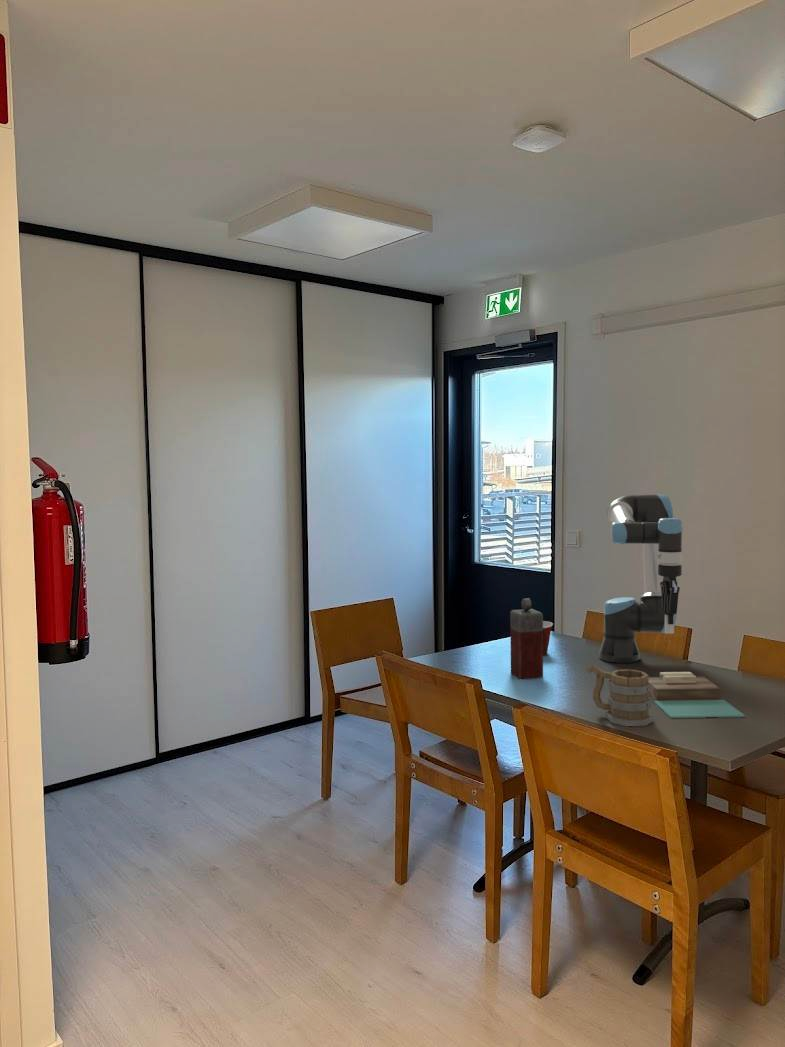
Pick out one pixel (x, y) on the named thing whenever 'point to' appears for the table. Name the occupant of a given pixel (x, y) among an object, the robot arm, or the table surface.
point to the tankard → (624, 696)
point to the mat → (698, 708)
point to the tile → (677, 677)
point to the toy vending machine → (527, 642)
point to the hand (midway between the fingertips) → (669, 633)
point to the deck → (683, 690)
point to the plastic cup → (547, 630)
